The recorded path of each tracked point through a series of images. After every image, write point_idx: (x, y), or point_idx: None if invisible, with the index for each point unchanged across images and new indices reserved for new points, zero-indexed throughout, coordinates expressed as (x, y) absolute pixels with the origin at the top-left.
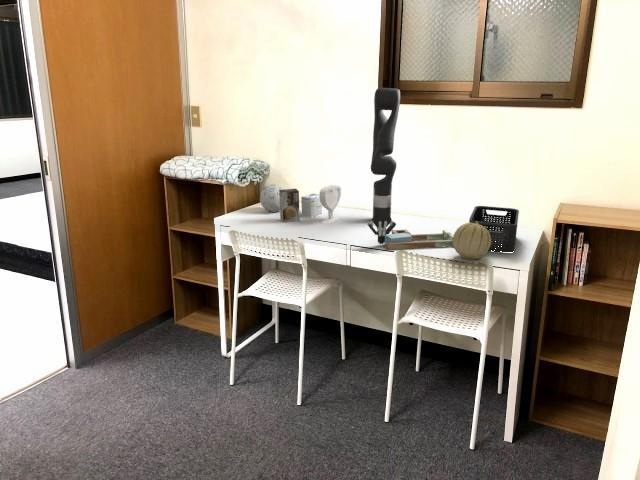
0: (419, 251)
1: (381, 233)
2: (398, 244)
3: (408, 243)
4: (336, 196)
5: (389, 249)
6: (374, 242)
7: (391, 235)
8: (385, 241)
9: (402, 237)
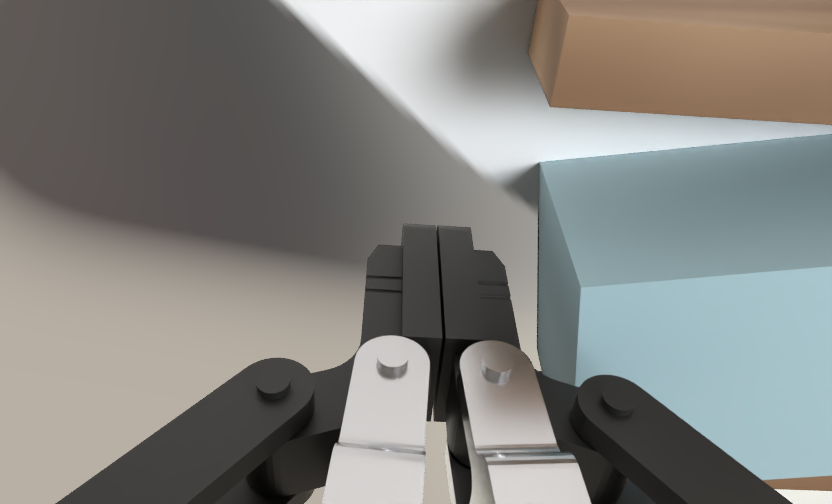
0: (810, 498)
1: (456, 390)
2: None
3: (795, 485)
4: None
5: None
6: (369, 7)
7: (698, 356)
8: (549, 227)
9: (818, 473)
